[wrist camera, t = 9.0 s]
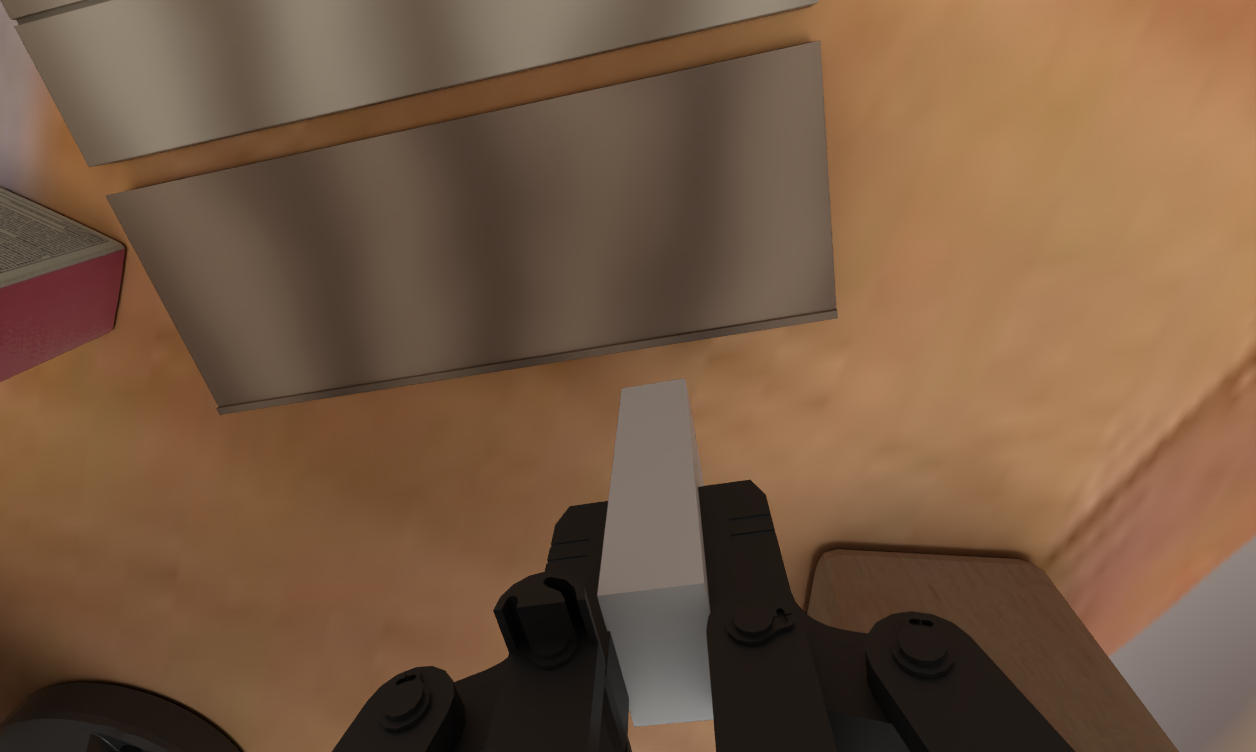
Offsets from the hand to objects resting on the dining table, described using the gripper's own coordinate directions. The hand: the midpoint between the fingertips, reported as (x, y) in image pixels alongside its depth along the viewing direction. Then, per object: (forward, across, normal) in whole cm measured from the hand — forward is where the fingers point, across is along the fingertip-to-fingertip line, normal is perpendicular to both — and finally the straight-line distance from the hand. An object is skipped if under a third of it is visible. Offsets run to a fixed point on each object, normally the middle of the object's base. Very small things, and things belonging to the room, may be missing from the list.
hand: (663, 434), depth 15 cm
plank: (+10, -6, +3) cm, 13 cm away
